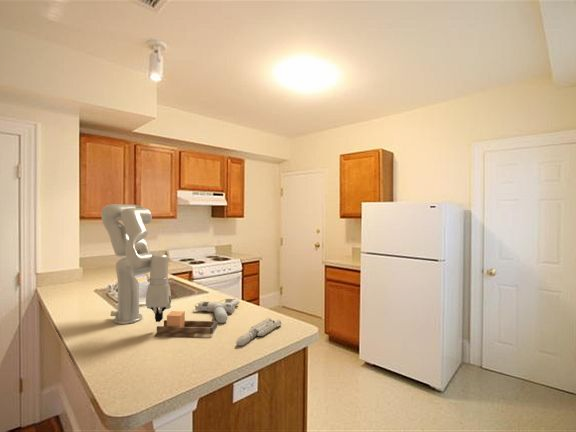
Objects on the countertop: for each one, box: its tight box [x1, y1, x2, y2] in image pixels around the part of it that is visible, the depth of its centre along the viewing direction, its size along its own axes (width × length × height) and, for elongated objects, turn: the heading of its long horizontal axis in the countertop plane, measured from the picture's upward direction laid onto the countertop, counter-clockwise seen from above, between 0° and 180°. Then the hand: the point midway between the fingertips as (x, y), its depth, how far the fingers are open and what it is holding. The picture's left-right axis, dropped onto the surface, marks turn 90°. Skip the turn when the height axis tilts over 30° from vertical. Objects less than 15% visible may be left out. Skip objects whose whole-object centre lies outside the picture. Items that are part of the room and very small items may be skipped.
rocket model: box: [235, 317, 282, 346], centre depth 139 cm, size 9×4×30 cm
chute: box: [154, 319, 219, 338], centre depth 141 cm, size 25×12×4 cm, turn 89°
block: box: [166, 310, 186, 327], centre depth 141 cm, size 6×6×7 cm
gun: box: [194, 298, 240, 324], centre depth 168 cm, size 6×29×30 cm
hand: (158, 320), depth 142 cm, fingers closed
